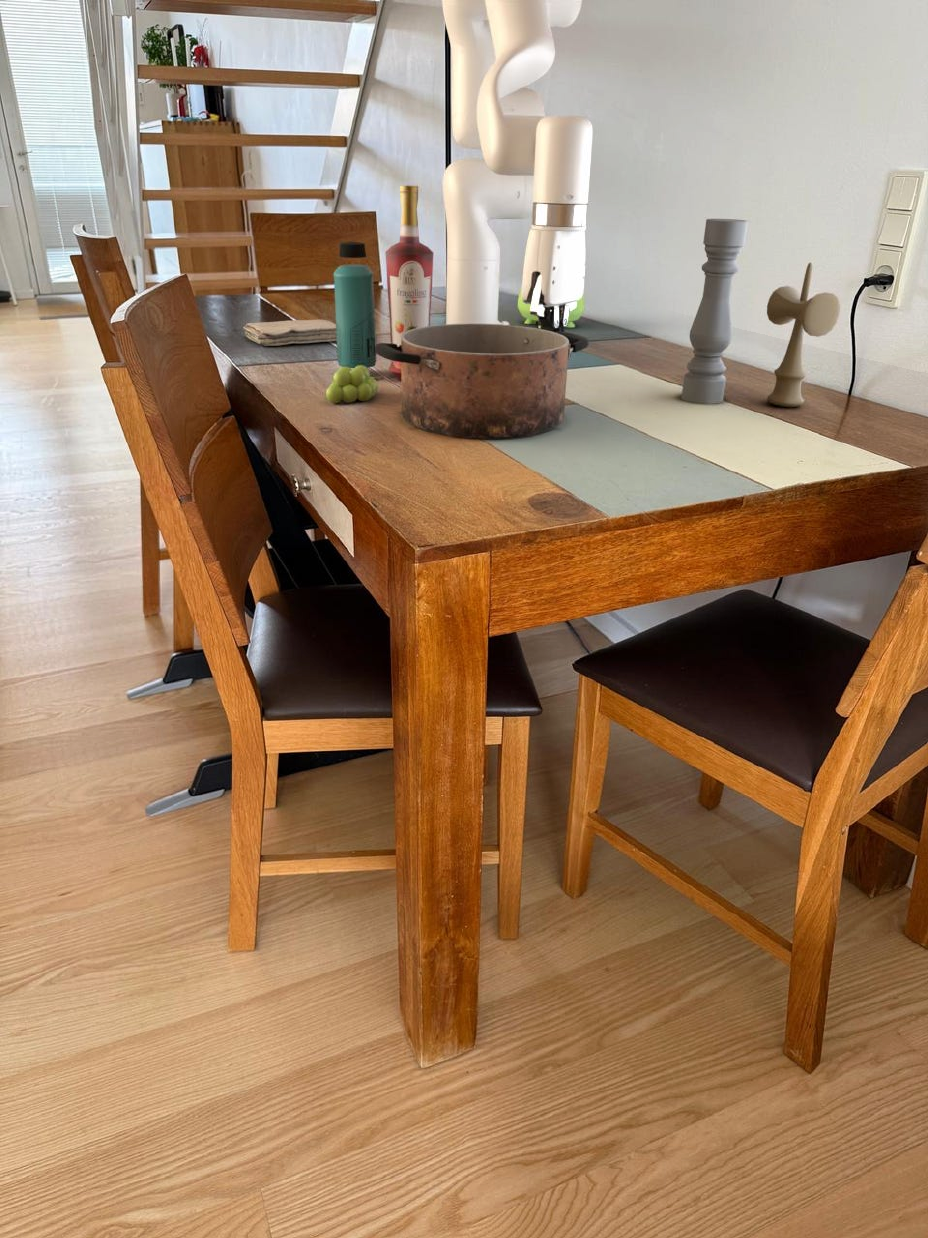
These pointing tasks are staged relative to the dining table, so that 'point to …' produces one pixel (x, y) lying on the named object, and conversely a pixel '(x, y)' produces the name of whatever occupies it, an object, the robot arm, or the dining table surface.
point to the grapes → (352, 385)
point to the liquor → (408, 275)
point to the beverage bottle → (354, 310)
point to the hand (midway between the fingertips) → (551, 353)
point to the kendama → (799, 333)
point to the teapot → (532, 319)
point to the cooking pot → (483, 378)
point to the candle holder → (714, 312)
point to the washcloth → (291, 332)
